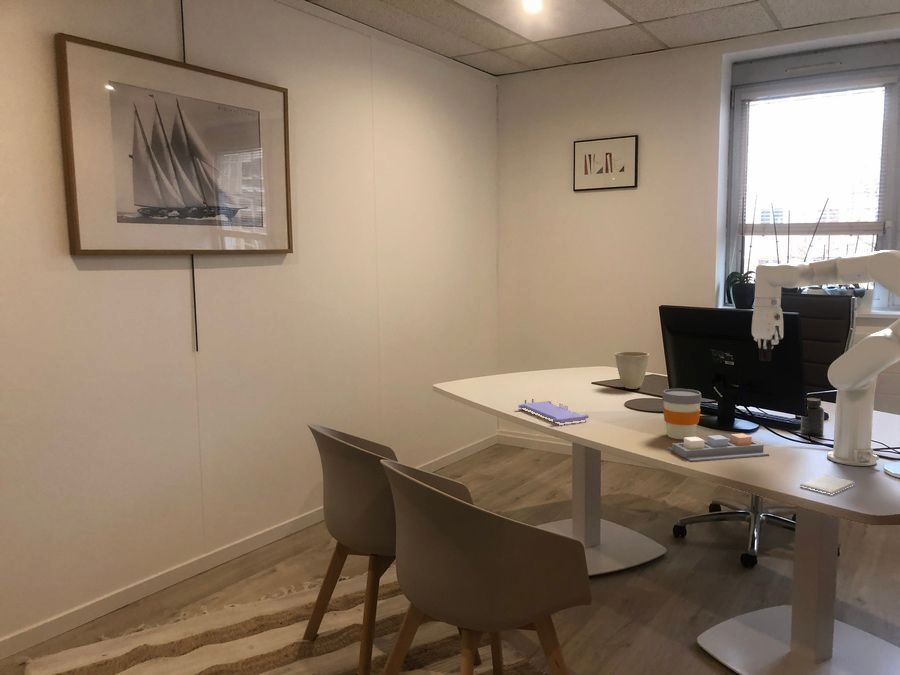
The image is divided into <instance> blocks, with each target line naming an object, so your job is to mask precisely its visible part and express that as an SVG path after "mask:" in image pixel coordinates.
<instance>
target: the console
mask: <svg viewBox="0 0 900 675" xmlns="http://www.w3.org/2000/svg"><path fill="white" fill-rule="evenodd" d="M764 447H765V446H764V444H762V443H760V442H757V441H754V440H753V439H752V442H751V445H737V446H736V445H734V444H732V443H730V438H728V446H724V447H711V446H709V445H707V440H705V443H704V448H698V449H686V448H685V447H684V442H672V443H671V446H668V447H666V448H668V450H669V451H671V452H672V451H673V453H674V452H675V454H676V453H677V454H676V455H678V456H680V457H682V458H683V457H684V459H685V458H686V459H685V460H687V459H688V460H687V461H689V460H690V461H689V462H691V461H693V462H700V461H699V460H706V461H715V460H716V461H717V460H727V459H729V460H731V459H742V458H743V459H744V458H753V457H765V456H766V457H767V456H770V453H768V452H766V451H764Z"/></svg>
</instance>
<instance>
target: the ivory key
mask: <svg viewBox="0 0 900 675" xmlns="http://www.w3.org/2000/svg"><path fill="white" fill-rule="evenodd" d="M705 441H706V440H704V438H703V439H702V438H700V437H698V436H695V437H685V438H684V439H683V443H684V447H685V448H686V449H698V448H704V443H705Z"/></svg>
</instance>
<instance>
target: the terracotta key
mask: <svg viewBox="0 0 900 675" xmlns="http://www.w3.org/2000/svg"><path fill="white" fill-rule="evenodd" d="M752 438H753V437H752V436H751V435H749V434H746V433H743V432H741V433H731V434H730V437H729V439H730V443H732V444H734V445H736V446H737V445H751V442H752V440H753V439H752Z"/></svg>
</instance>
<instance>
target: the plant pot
mask: <svg viewBox="0 0 900 675" xmlns="http://www.w3.org/2000/svg"><path fill="white" fill-rule="evenodd" d="M614 356H615V361H616V362H615V363H616V366H617V367H616V368H617V371H618V375H619V378H620V379H619V380H620V381H621V382H620V383H621V384H622V387H623V386H628V387H639V386H641V387H642V385H643V382H644V379H645V376H646V372H647V369H648V365H649V359H650V353H648V352H643V351H618V352H615V353H614Z"/></svg>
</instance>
